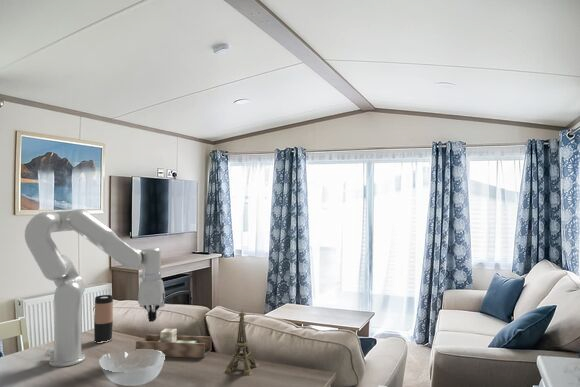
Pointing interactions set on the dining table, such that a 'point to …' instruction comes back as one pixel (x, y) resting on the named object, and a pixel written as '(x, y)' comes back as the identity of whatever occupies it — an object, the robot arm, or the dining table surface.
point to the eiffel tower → (244, 354)
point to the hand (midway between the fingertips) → (152, 320)
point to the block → (168, 335)
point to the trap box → (178, 346)
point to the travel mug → (103, 318)
